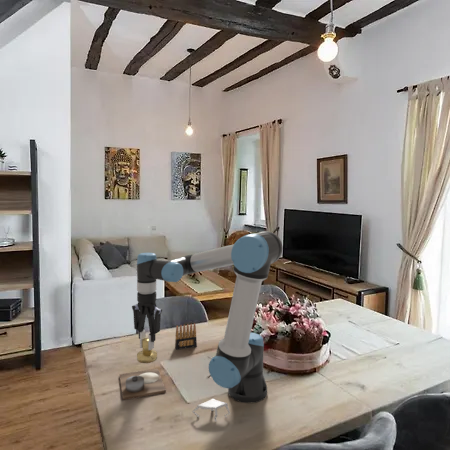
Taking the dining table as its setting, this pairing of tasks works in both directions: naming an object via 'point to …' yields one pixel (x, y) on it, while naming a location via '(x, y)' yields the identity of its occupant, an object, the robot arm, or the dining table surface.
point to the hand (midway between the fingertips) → (147, 347)
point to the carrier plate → (147, 387)
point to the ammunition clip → (185, 337)
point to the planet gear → (146, 353)
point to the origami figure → (212, 406)
